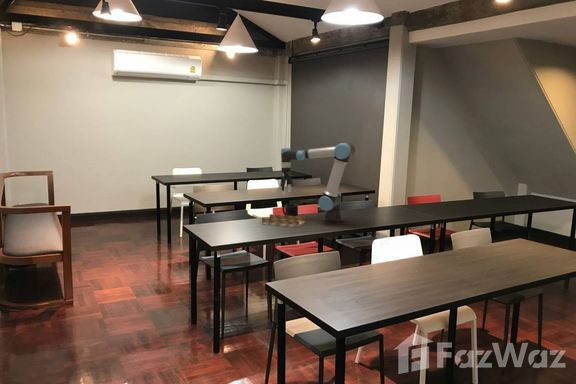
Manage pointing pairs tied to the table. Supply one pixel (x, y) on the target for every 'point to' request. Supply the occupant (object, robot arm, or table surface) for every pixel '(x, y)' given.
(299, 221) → the brown lumpy flat block
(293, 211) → the mug
